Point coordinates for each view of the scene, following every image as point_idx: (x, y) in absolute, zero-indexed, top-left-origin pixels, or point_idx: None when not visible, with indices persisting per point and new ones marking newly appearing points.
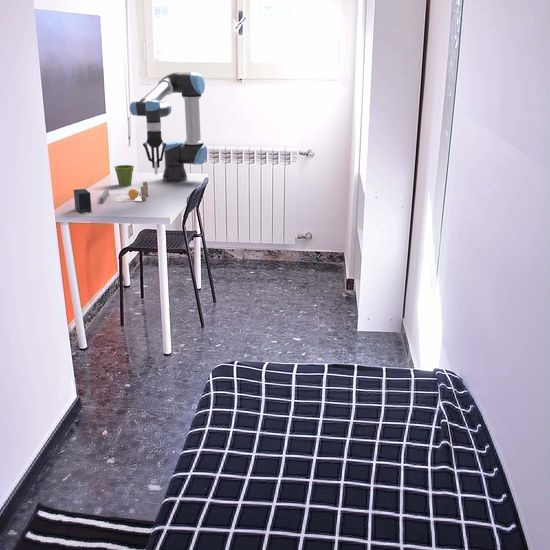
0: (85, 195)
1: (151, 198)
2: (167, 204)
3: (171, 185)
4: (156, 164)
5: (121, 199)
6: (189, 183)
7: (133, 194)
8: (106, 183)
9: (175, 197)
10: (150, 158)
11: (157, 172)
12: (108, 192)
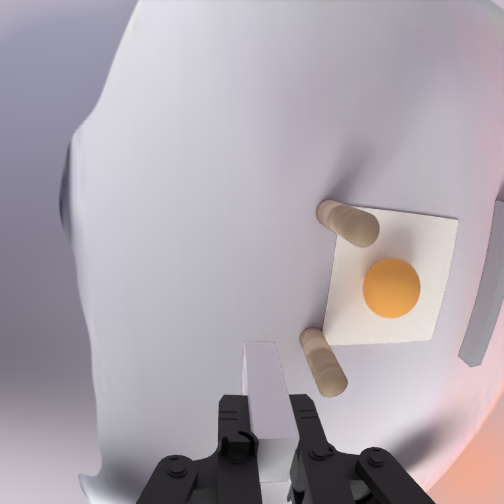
0: None
1: (282, 279)
2: (181, 112)
3: None
4: (259, 416)
5: (434, 261)
6: (126, 493)
7: (395, 260)
8: None
9: (138, 288)
10: (357, 498)
11: (244, 358)
12: (469, 350)
